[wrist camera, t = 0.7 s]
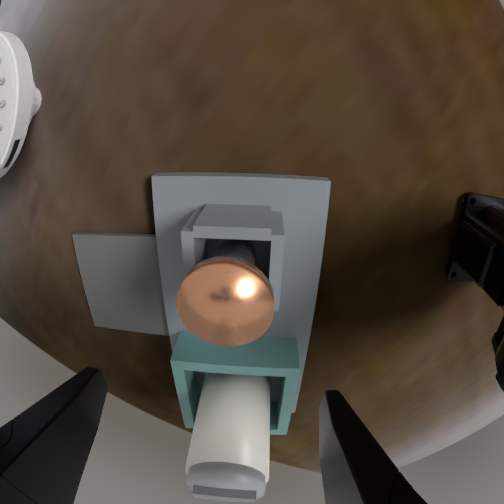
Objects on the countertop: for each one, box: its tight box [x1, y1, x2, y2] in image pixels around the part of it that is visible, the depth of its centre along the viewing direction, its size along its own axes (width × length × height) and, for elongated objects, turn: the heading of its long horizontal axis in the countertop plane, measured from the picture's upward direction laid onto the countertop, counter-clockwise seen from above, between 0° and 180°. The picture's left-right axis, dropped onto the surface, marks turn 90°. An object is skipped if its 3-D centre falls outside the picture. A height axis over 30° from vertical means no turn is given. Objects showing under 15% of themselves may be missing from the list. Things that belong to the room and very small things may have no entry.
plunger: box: [176, 239, 274, 346], centre depth 15 cm, size 4×4×5 cm
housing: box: [151, 172, 331, 435], centre depth 20 cm, size 10×20×4 cm, turn 178°
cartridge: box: [185, 372, 270, 503], centre depth 18 cm, size 5×5×11 cm
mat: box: [72, 232, 169, 336], centre depth 21 cm, size 7×8×1 cm
